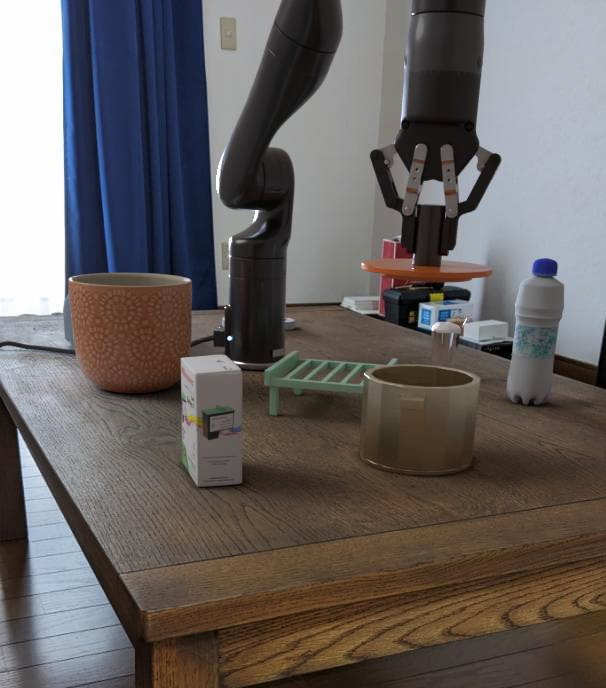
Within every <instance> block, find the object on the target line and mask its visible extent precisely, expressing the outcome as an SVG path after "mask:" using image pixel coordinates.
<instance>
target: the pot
mask: <svg viewBox="0 0 606 688" xmlns="http://www.w3.org/2000/svg"><path fill="white" fill-rule="evenodd" d="M385 365H386V366H378V367H375V368H371V369H368V370H367V371H366V372H363V380H364V382H363V394H362V399H361V402H362V403H361V417H360V436H359V453H360V456H359V457H360V459H361V460H362V461H363V462H364V463H365V464H367V465H369V466H371V467H373V468H375V469H378V470H382V471H385V472H390V473H394V474H399V475H400V474H401V475H408V476H422V477H423V476H425V477H426V476H427V477H432V476H445V475H452V474H457V473H461V472H464V471H465V470H467V469H469V468H470V467H471V465H472V461H473V454H474V445H475V438H476V437H475V436H476V428H477V419H478V408H479V399H480V390H481V382H482V381H481V380H482V378H481V377H480V376H478V375H476V374H475V373H473V372H470V371H466V370H463V369H459V368H455V367H454V368H448V367H442V366H432V365H431V364H429V365H428V364H415V363H414V364H412V363H411V364H409V363H407V364H405V363H403V364H401V363H400V364H399V363H398V365H397V364H396V365H388V364H385Z"/></svg>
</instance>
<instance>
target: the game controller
mask: <svg viewBox="0 0 606 688" xmlns="http://www.w3.org/2000/svg"><path fill="white" fill-rule="evenodd" d="M221 319H222V320H221V322H222V323H221V324H222V326H221V327H225V316H223V317H222V318H221ZM294 329H296V319H295V318H290V317H285V331H291V330H294Z"/></svg>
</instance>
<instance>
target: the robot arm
mask: <svg viewBox="0 0 606 688" xmlns="http://www.w3.org/2000/svg"><path fill="white" fill-rule="evenodd" d="M486 5H487V0H411V11H410V12H411V14H410V15H411V17H410V23H409V27H408V28H409V29H408V34H407V40H406V45H405V46H406V47H405V55H404V59H403V68H404V72H403V86H402V87H403V88H402V89H403V90H402V103H401V115H400V116H401V117H400V127H399V130H398V133H397V134H396V136H395V138H394V141H393V143H390V144H388V145H386V146H384V147H381V148H379V149H378V148H375V149H372V150H371V151H370V153H369V159H370V162H371V165H372V168H373V171H374V175H375V177H376V180H377V183H378V186H379V189H380V192H381V195H382V198H383V201H384V204H385V206H386V207H387V208H388V209H392V210H393V211H396V212H398V213H400V215H401V233H400V246H401V249H402V248H403V249H405V254H406V255H413V252H414V239H415V227H416V213H417V204H419V201H420V197H421V193H422V190H423V187H424V183H425V182H429V181H436V182H440V183H442V184H443V195H444V202H445V203H444V205H445V207H446V215H445V218H444V220H443V231H442V242H441V253H440V255H441V256H442V257H448V256H449V254H450V251H454V250H455V249H456V246H457V241H458V240H457V238H458V230H459V229H458V228H459V220H460V218H461V216H463V215H465V214H469V213H473V212H474V211H476V210H477V209H478V207H479V205H480V203H481V202H482V199H483V198H484V195H485V193H486V192H487V190H488V189H489V186H490V184H491V182H492V180H493V179H494V177H495V175H496V173H497V171H498V170H499V167H500V166H501V163H502V161H503V159H502V156H501V154H499V153H497V152H494V153H493V152H492V151H489V150H488V149H486V148H485V147H482V146H481V145H480V140H479V137H478V134H477V121H478V111H479V102H480V92H481V81H482V72H483V64H484V53H485V14H486ZM342 7H343V6H342V0H281V1H280V3H279V6H278V8H277V12H276V14H275V17H274V20H273V23H272V26H271V28H270V32H269V34H268V38H267V40H266V43H265V46H264V50H263V54H262V56H261V60H260V63H259V65H258V69H257V72H256V75H255V77H254V79H253V82H252V85H251V88H250V90H249V93H248V96H247V99H246V101H245V103H244V106H243V109H242V110H241V113H240V115H239V117H238V119H237V121H236V123H235V126H234V128H233V131H232V132H231V135H230V137H229V139H228V141H227V143H226V146H225V147H224V151H223V152H222V155H221V158H220V161H219V165H218V169H217V175H216V190H217V195H218V198H219V200H220V202H221V203H222V205H223V206H225V207H226V208H227V209H229V210H234V211H243V212H255V215H254V219H253V221H252V222H251V224H249V226H247V228H245V229H244V230H242V231H240V232H238V233H236V234H234V235H232V236H230V238H229V241H228V304H227V305H225V306H224V317H225V327H223V326H218V327H217V328H216V329H214V330H213V334H212V335H208V336H204V337H201V338H197V339H194V340H192V341H191V349H192V348H193V347H196V346H197V345H201V344H204V343H207V342H212V341H213V347H214V348H224V355H226V356H227V357H228V358H229V359H230V360H231V361H233V362H234V363H235V364H236V365H237V366H238V367H239V368H240V369H241V370H249V371H250V370H251V371H265V370H266V369H268V368H269V367H271V366H272V365H273V364H275V363H276V362H278V361H279V360H281V359H282V358H284V357H285V356H286V355H287V354H286V350H287V349H286V345H285V344H286V330H285V318H286V316H287V315H286V313H287V311H286V310H287V272H288V271H287V268H288V267H287V265H288V263H287V262H288V248H289V244H290V240H291V237H292V231H293V214H294V203H295V186H296V176H295V168H294V163H293V160H292V158H291V156H290V154H289V153H288V152H287V151H286V150H285V149H283V148H280V147H277V146H276V147H275V146H273V147H272V146H270V145H271V143H272V141H273V140H274V138H275V136H276V134H277V133H278V131H279V130H280V129H281V127H283V126H284V124H285V123H286V122H287V121H288V120H289V119H291V117H292V116H294V114H296V113H297V112H298V111H299V110H300V109H302V107H303V106H304V105H305V104H306V103H307V102H308V101H309V100H310V99H311V98H312V97H313V96H314V95H315V94H316V93H317V91H319V89H320V88H321V86H322V85H323V84H324V82H325V80H326V78H327V76H328V75H329V72H330V69H331V67H332V64H333V62H334V60H335V57H336V54H337V51H338V49H339V47H340V44H341V42H342V38H343V35H344V32H343V31H344V17H343V8H342ZM396 154H397V155H398V157H399V158H400V160H401V162H402V163H403V165H404V167H405V169H406V171H407V172H408V174H409V175H408V179H407V184H406V188H405V194H404V198H402V197H400V196H399V192H398V189H397V186H396V184H395V181H394V177H393V174H392V171H391V169H392V168H393V167H394V166H395V156H396ZM475 157H476V158H477V163H476V170H477V171H478V172H479V175H478V177H477V179H476V181H475V182H474V185H473V187H472V189H471V191H470V192H469V195H468V197H467V198H466V200H464V201H460V194H459V193H460V189H459V176H460V175H461V174H462V172H463V171H464V170H465V169H466V167H467V166H468V164H469V163H470V162H471V161H472V160H473V158H475ZM3 347H14V348H19V349H23V350H28V351H29V350H31V351H43V352H49V353H58V354H64V355H74V356H76V352H75V350H72V348H60V347H54V346H48V345H47V346H46V345H39V344H27V343H22V342H17V341H12V340H4V341H0V349H1V348H3Z"/></svg>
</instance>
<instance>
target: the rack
mask: <svg viewBox="0 0 606 688" xmlns="http://www.w3.org/2000/svg"><path fill="white" fill-rule="evenodd" d="M396 364H397V365H398V364H399V358H395V357H393V358H391V360H390V361H389V362H388V363H387V364H378V363H367V362H354V361H341V360H328V359H317V358H303V357H300V351H299V350H293V351H291V352H290V353H288V354H286V355H285V356H284V358H282V359H281V360H279V361H278V362H276V363H275V364H273V365H272V366H271V367H269V368H268V369H266V370H264V377H263V378H264V379H263V380H264V383H263V385H264V386H265V387H269V416H275V417H276V416H278V415H279V412H280V411H279V410H280V409H279V408H280V407H279V405H280V388H289V389H293V394H294V395H300V396H301V394H303V390H312V391H323V392H324V391H325V392H336V393H347V394H359V395H363V382H364V379H362V381H361V382H360V383H352V382H353V381H354V380H355V379H356V378H357V377H358V376H359V375H360V373H362V372H363V373H365V372H366V371H367V370H368V369H371V368H375V367H378V366H386V365H396ZM309 368H314V369H313V370H312V371H311V372H309V374H307V375H306V376H305V377H303V373H305V371H307V370H308V369H309ZM326 370H332V371H330V372H329V373H328V374H327V375H326V376H325V377H323V378H322V380H316V378H318V377H319V376H320V375H321V374H322V373H323V372H324V371H326ZM344 371H350V372H349V373H348V374H347V375H346V376H345V377H344V378H343V379H342V380H341V381H340V382H336V381H334V380H336V378H338V376H339V375H341V374H342V372H344Z"/></svg>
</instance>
